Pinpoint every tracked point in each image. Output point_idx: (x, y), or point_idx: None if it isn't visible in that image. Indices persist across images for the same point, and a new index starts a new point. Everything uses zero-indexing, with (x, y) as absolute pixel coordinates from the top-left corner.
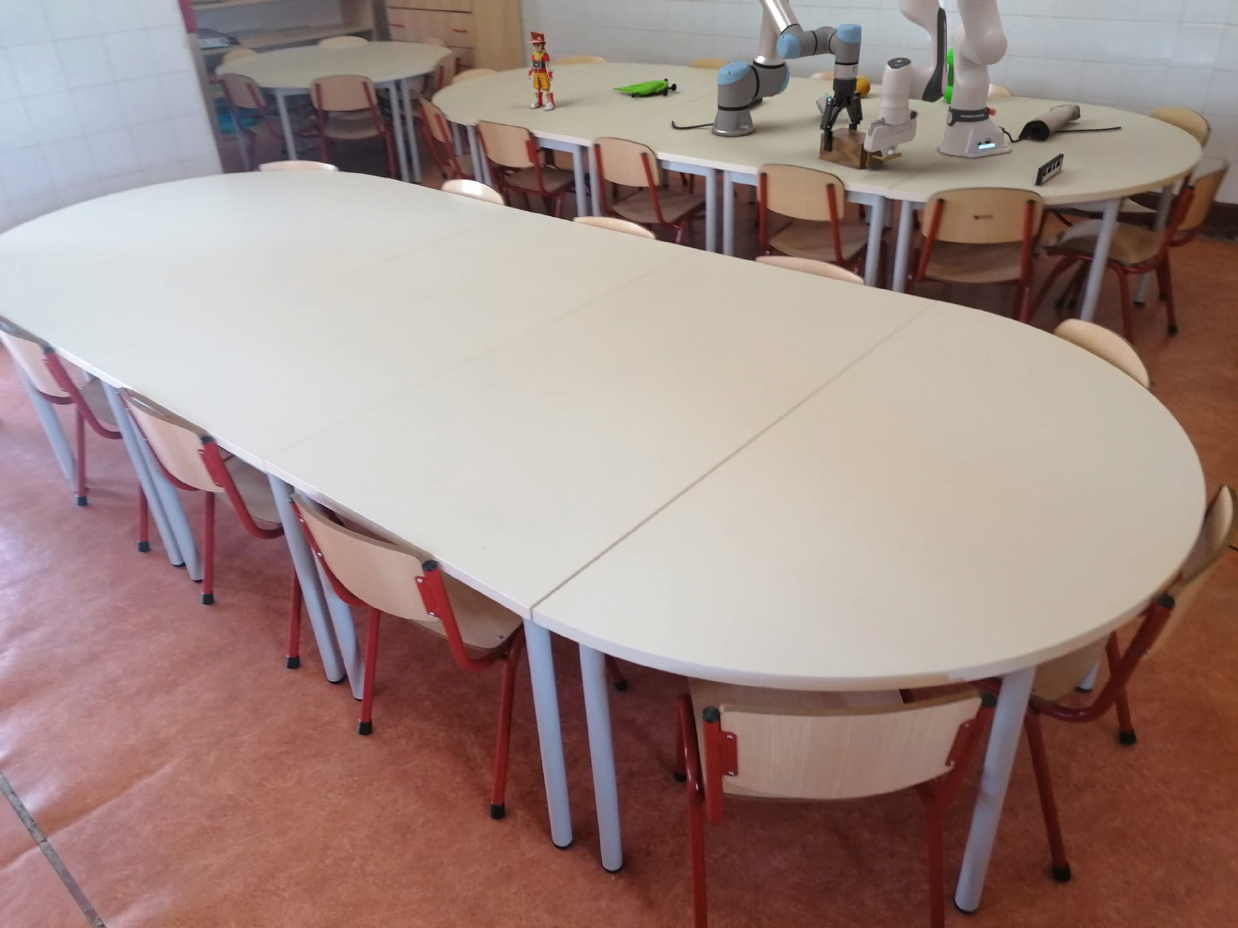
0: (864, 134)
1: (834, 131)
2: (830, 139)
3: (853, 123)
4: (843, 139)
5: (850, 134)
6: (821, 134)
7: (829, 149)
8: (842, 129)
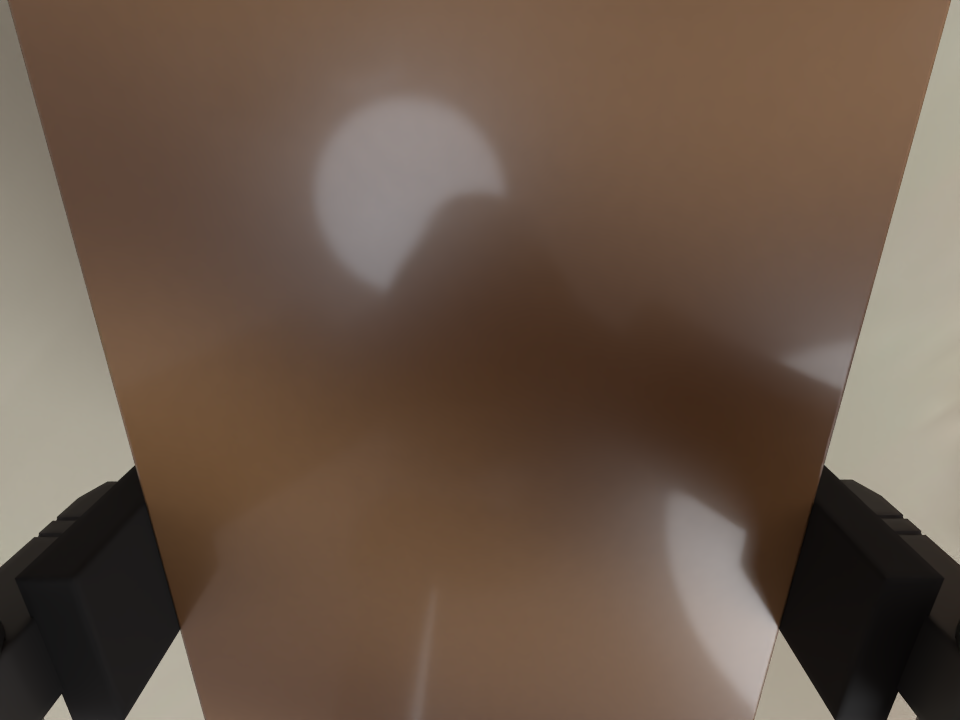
0: (182, 74)
1: (510, 671)
2: (825, 479)
3: (38, 673)
4: (896, 181)
5: (453, 344)
6: (748, 706)
7: None
8: (307, 664)
